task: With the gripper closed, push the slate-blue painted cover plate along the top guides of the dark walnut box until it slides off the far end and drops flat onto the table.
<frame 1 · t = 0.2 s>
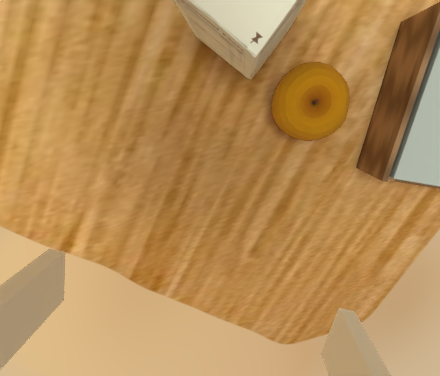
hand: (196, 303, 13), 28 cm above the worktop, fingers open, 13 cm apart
apple: (300, 104, 37), on the worktop
box: (423, 107, 36), on the worktop
supplement box: (244, 26, 35), on the worktop
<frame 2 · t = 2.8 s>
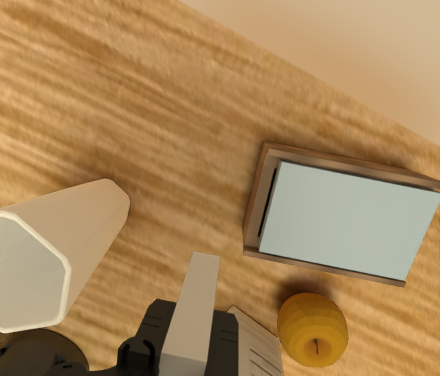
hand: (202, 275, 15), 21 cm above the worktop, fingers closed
apple: (302, 301, 40), on the worktop
box: (320, 199, 36), on the worktop
supplement box: (236, 338, 43), on the worktop
cover plate: (341, 218, 30), point 6 cm above the worktop, touching box
cup: (105, 203, 38), on the worktop
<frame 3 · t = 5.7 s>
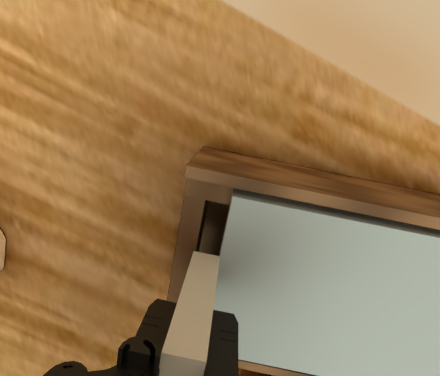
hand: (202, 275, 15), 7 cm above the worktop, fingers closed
box: (299, 241, 22), on the worktop
cover plate: (347, 292, 17), point 6 cm above the worktop, touching gripper
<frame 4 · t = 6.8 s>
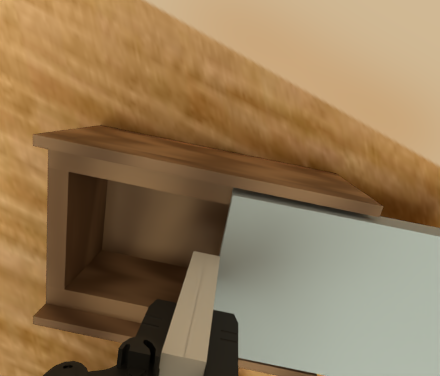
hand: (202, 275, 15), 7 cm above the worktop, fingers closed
box: (203, 221, 23), on the worktop
cover plate: (347, 291, 17), point 6 cm above the worktop, touching gripper
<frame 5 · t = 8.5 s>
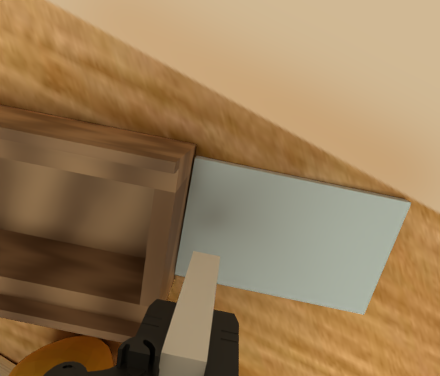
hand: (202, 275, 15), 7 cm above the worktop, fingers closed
apple: (91, 345, 27), on the worktop
box: (76, 194, 23), on the worktop
cover plate: (282, 232, 23), on the worktop
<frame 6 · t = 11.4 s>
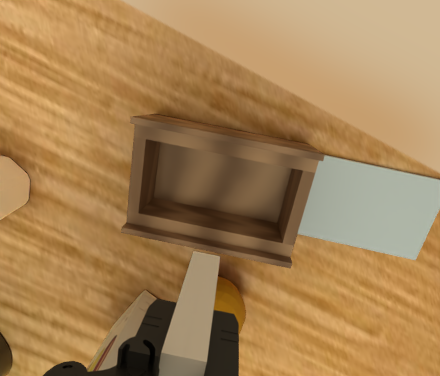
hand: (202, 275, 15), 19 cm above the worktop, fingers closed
apple: (215, 285, 39), on the worktop
box: (221, 177, 34), on the worktop
supplement box: (152, 324, 42), on the worktop
cover plate: (359, 203, 34), on the worktop
cup: (6, 182, 37), on the worktop
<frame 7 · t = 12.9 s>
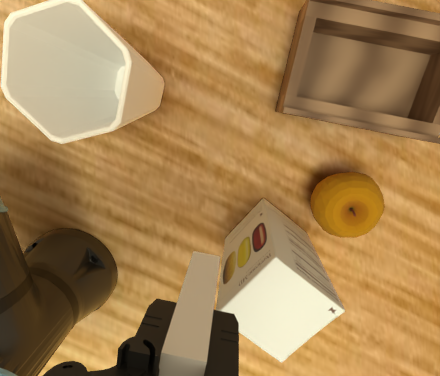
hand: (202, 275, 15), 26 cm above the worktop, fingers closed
apple: (333, 192, 41), on the worktop
box: (354, 77, 36), on the worktop
supplement box: (265, 235, 43), on the worktop
cup: (139, 88, 38), on the worktop
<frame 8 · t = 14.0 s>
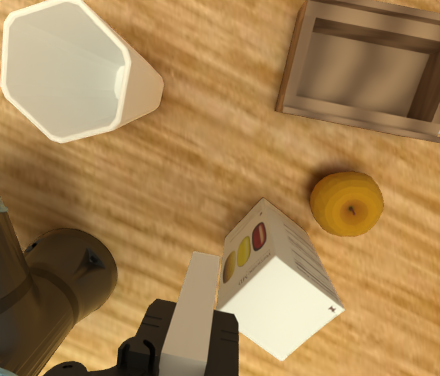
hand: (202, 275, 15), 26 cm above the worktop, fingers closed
apple: (332, 191, 41), on the worktop
box: (354, 77, 36), on the worktop
supplement box: (264, 235, 43), on the worktop
cup: (138, 88, 38), on the worktop
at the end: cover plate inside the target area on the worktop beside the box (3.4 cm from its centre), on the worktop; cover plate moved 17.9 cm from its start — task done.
